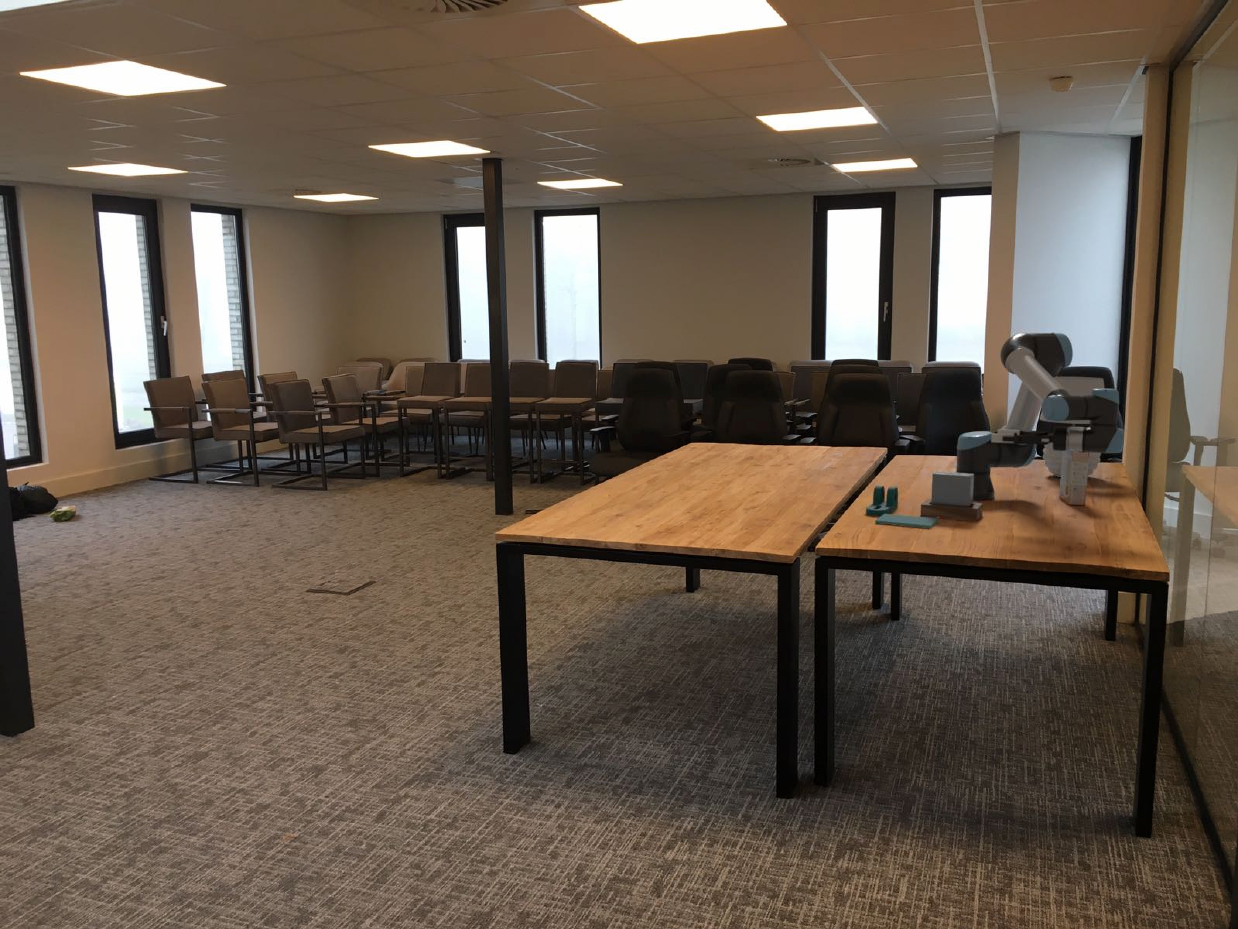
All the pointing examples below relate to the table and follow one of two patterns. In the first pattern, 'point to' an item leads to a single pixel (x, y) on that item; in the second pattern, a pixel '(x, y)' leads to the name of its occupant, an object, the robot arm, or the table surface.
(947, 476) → the dark grey block
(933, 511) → the slotted block
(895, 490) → the bracket
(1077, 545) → the table surface
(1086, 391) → the table lamp
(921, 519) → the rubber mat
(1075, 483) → the cracker box
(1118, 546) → the table surface
